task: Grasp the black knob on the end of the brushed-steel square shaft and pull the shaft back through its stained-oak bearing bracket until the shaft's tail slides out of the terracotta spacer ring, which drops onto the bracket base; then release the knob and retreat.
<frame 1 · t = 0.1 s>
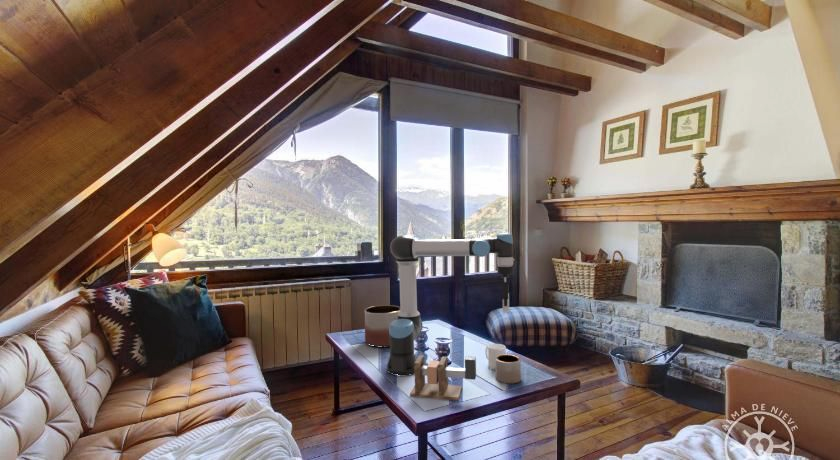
hand: (506, 309, 191), 28 cm above the table, fingers open, 13 cm apart
spacer: (433, 380, 165), point 5 cm above the table, touching shaft
shaft: (446, 366, 163), point 11 cm above the table, slide at 0.0 cm, touching spacer
cup: (494, 366, 193), on the table
planter 2: (383, 342, 234), on the table
planter: (508, 379, 176), on the table
bracket: (436, 392, 165), on the table
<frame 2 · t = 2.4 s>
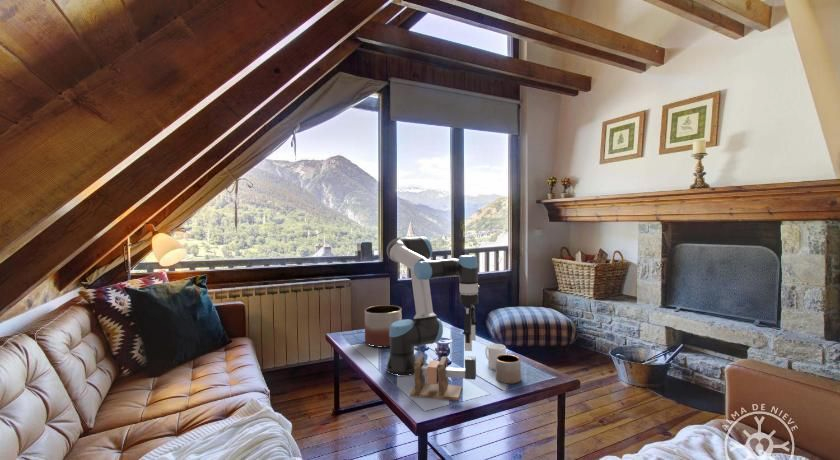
hand: (470, 345, 161), 21 cm above the table, fingers open, 13 cm apart
nothing on the table moved.
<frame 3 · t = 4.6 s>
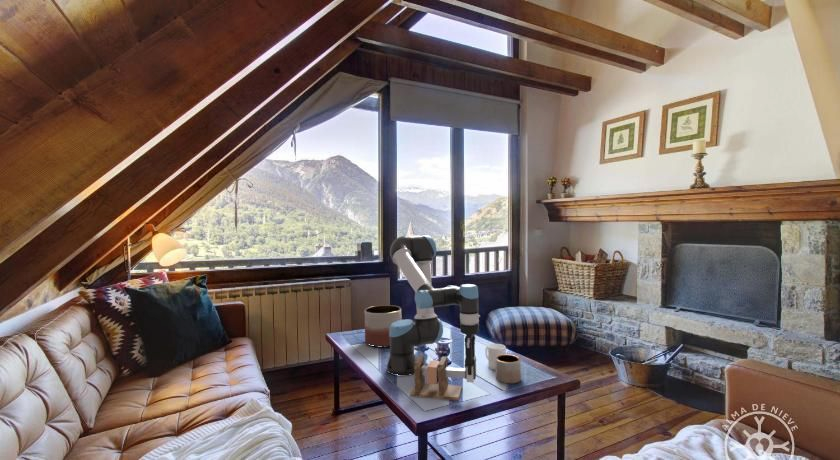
hand: (470, 379, 161), 7 cm above the table, fingers closed on shaft, 4 cm apart
shaft: (446, 366, 163), point 12 cm above the table, slide at 0.0 cm, touching gripper, spacer
everything else where it was.
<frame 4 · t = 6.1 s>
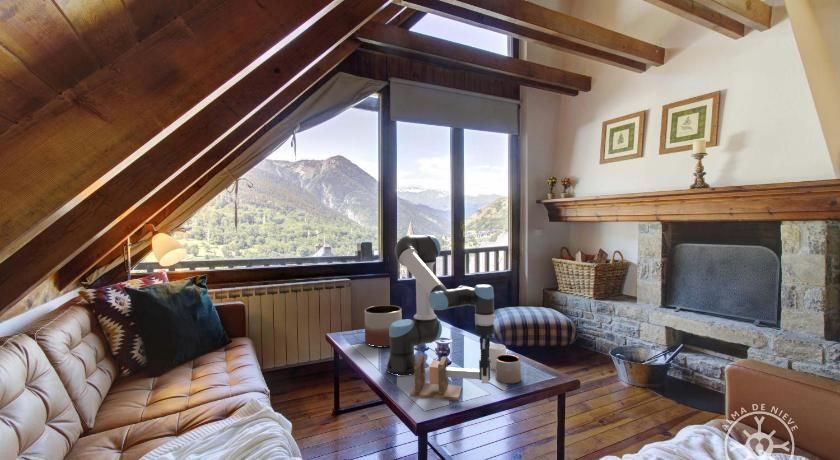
hand: (485, 380, 160), 7 cm above the table, fingers closed on shaft, 4 cm apart
shaft: (460, 366, 162), point 12 cm above the table, slide at 5.8 cm, touching gripper, spacer
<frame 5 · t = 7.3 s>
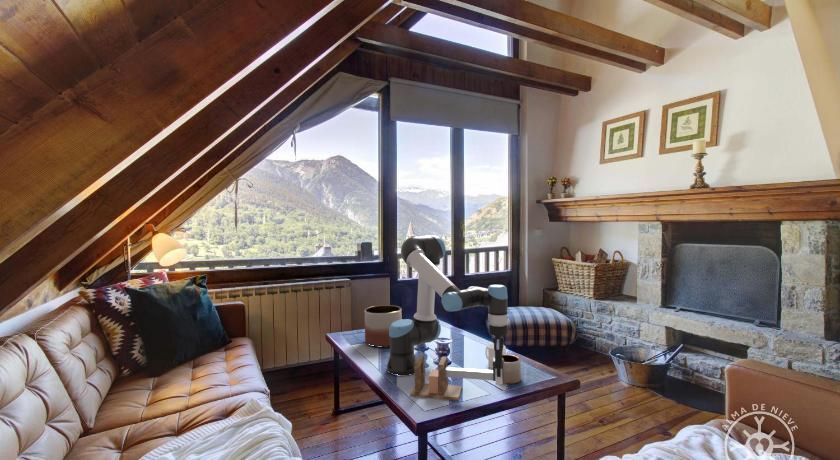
hand: (499, 381, 158), 7 cm above the table, fingers closed on shaft, 4 cm apart
spacer: (435, 389, 165), point 1 cm above the table, touching bracket
shaft: (473, 367, 161), point 11 cm above the table, slide at 11.1 cm, touching gripper
everything else where it was.
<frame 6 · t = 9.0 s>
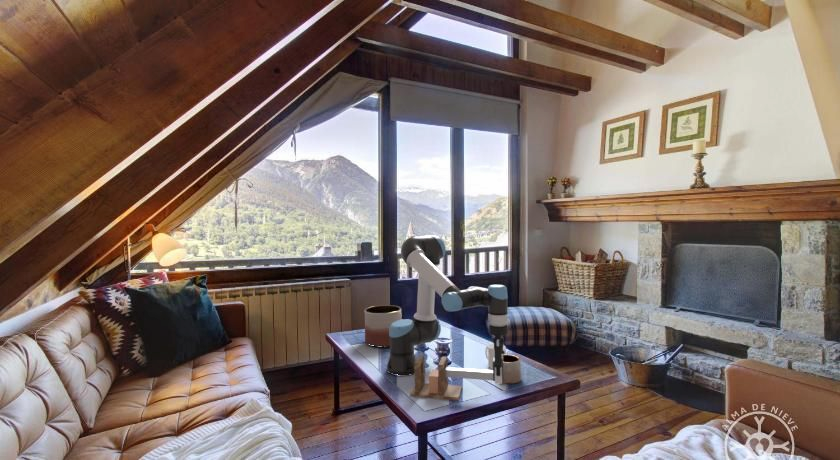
hand: (499, 376, 158), 9 cm above the table, fingers open, 13 cm apart
shaft: (473, 367, 161), point 12 cm above the table, slide at 11.1 cm
everything else where it was.
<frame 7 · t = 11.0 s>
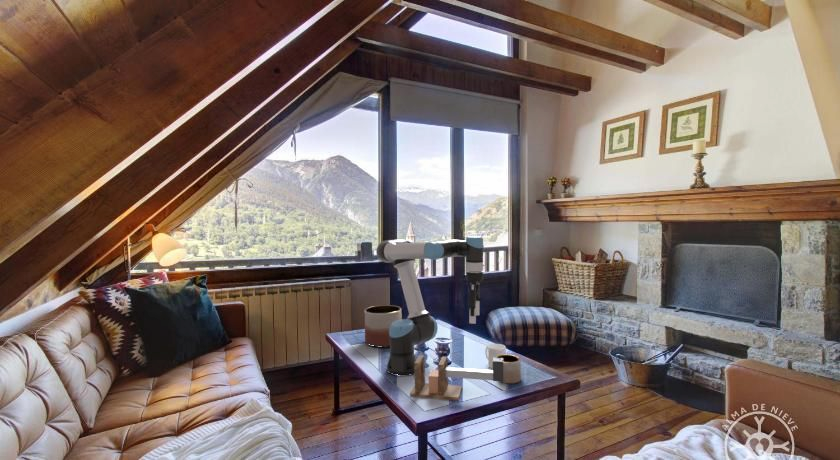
hand: (474, 319, 175), 28 cm above the table, fingers open, 13 cm apart
nothing on the table moved.
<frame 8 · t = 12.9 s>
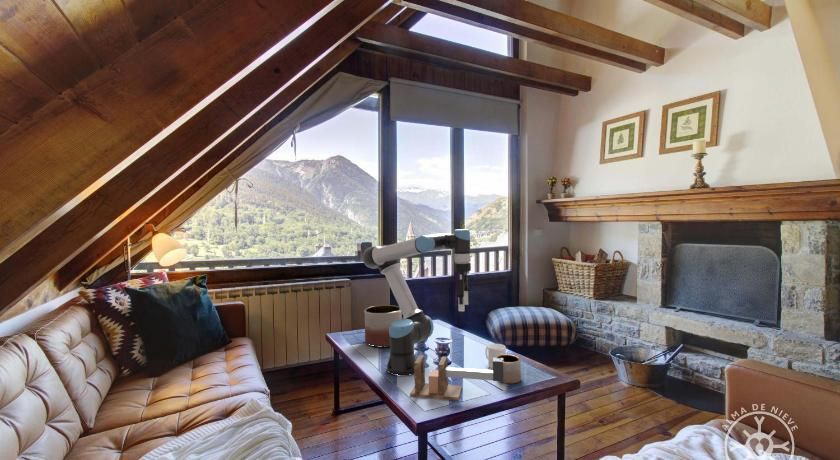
hand: (463, 307, 184), 31 cm above the table, fingers open, 13 cm apart
nothing on the table moved.
at the end: shaft slide at 11.1 cm; spacer inside the target area on the bracket (1.6 cm from its centre), point 1.2 cm above the bracket's base; spacer touching bracket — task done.
